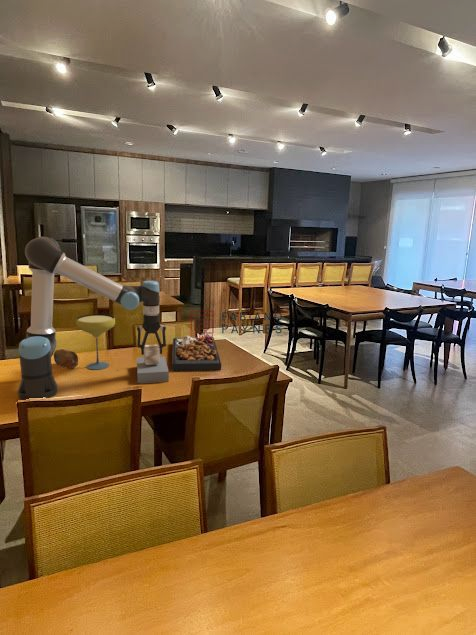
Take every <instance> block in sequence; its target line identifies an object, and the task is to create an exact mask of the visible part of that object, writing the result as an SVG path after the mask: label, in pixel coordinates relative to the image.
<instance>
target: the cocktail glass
mask: <svg viewBox="0 0 476 635" xmlns="http://www.w3.org/2000/svg"><path fill="white" fill-rule="evenodd" d="M75 323H76V327H77V329H79V330H80V331H82V332H85V333H87V334H90V335H92V336H93V338H94V339H95V342H96V344H95V345H96V346H95V347H96V361H94V362H91V363H89V364H86V369H88V370H92V371H100V370H105V369H107V368H109V367H110V364H109V363H108V362H106V361H105V362H104V361H100V358H99V346H98V343H99V342H98V341H99V340H98V339H99V338H100V336H101V335H102V334H104V333H106V332H108V331H110V330H111V329H112V328H113V327H115V325H116V318H115V316H114V315H111V314H105V313H92V314H91V313H90V314H85V315H80V316H78V317H77V318H76V321H75Z"/></svg>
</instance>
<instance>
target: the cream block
mask: <svg viewBox="0 0 476 635" xmlns="http://www.w3.org/2000/svg"><path fill="white" fill-rule="evenodd" d="M144 347H145V355H146V365H153V364H159V350H158V347H159V344H145V346H144Z"/></svg>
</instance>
